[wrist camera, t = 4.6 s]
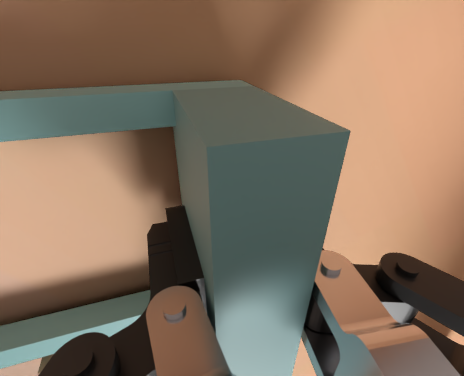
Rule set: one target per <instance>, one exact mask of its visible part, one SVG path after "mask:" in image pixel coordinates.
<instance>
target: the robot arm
mask: <svg viewBox="0 0 464 376" xmlns="http://www.w3.org/2000/svg"><path fill="white" fill-rule="evenodd" d="M165 209H166V215H167V222H163V223H157V224H153V225H152V227H151V229H150V230H149V232H148V234H147V240H148V256H149V257H148V258H149V276H150V301H149V303H148V306H147V308H146V309H145V311H144V312H143V314H142V315H141V316H140V317H139V318H138V319H137V320H136V321H134V322H133V323H132V324H130V325H129V326H127V327H126V328H124V329H122V330H120V331H119V332H117V333H115V334H114V335H112V336H110V337H108V336H107V335H105V334H103V333H99V332H89V333H85V334H82V335H79V336H77V337H75V338H73V339H71V340H70V341H68V342H67V343H65V344H64V345H63V346H62V347H60V348H59V349H58V350H57V351H56V352H55V353H54V355H53V356H52V357H51V359H50V360H49V361H48V363H47V364H46V366H45V367H44V368H43V370H42V371H41V373H40V374H39V375H38V376H236V375H234V374H232V372H231V371H230V369H229V367H228V364H227V362H226V359H225V357H224V354H223V352H222V350H221V347H220V345H219V342H218V340H217V337H216V335H215V332H214V330H213V327H212V325H211V322H210V320H209V318H208V315H207V306H206V293H205V280H204V275H203V271H202V267H201V264H200V260H199V257H198V253H197V249H196V246H195V242H194V238H193V235H192V231H191V228H190V224H189V220H188V217H187V213H186V209H185V206H184V205H182V206H176V207H170V208H165ZM418 311H420V312H422V313H424V314H426V315H427V316H429V317H431V318H433V319H434V320H436V321H438V322H439V323H441V324H443V325H445V326H446V327H448V328H450V329H451V330H453V331H455V332H457V333H458V334H460V335H462V336H464V281H462V280H460V279H458V278H456V277H454V276H451V275H449V274H447V273H445V272H443V271H441V270H439V269H437V268H435V267H432V266H430V265H428V264H426V263H424V262H422V261H420V260H418V259H416V258H414V257H411V256H409V255H406V254H402V253H388V254H385V255H384V256H383V257H382V258H381V260H380V262H379V265H359V264H352V263H351V262H350V261H349V260H348V259H347V258H345V257H344V256H342V255H340V254H338V253H336V252H333V251H328V250H324V249H323V248H322V252H321V256H320V260H319V264H318V268H317V273H316V277H315V281H314V285H313V289H312V293H311V298H310V302H309V306H308V310H307V314H306V318H305V323H304V327H303V331H302V335H301V338H302V341H303V343H304V345H305V348H306V350H307V353H308V355H309V358H310V360H311V363H312V365H313V368H314V370H315V373H316V375H317V376H464V345H460V344H458V343H456V342H454V341H452V340H451V339H449V338H447V337H446V336H444V335H442V334H441V333H439V332H437V331H436V330H434V329H432V328H431V327H429V326H427V325H426V324H424V323H422V322H421V321H419V320H417V319H416V318H414V317H415V316H416V314H417V312H418Z"/></svg>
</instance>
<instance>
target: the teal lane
mask: <svg viewBox="0 0 464 376" xmlns="http://www.w3.org/2000/svg"><path fill="white" fill-rule="evenodd" d="M161 127H173V132H174V140H175V149H176V158H177V166H178V175H179V184H180V193H181V201H182V205H184V206H185V209H186V213H187V217H188V220H189V224H190V228H191V231H192V235H193V238H194V242H195V246H196V249H197V253H198V257H199V260H200V264H201V267H202V271H203V275H204V280H205V293H206V306H207V315H208V318H209V320H210V322H211V325H212V327H213V330H214V332H215V335H216V337H217V340H218V342H219V345H220V347H221V350H222V352H223V354H224V357H225V359H226V362H227V364H228V367H229V369H230V371H231V372H232V374H234V375H236V376H292V373H293V368H294V364H295V360H296V356H297V352H298V348H299V343H300V339H301V335H302V331H303V327H304V323H305V318H306V314H307V310H308V306H309V302H310V298H311V293H312V289H313V285H314V281H315V277H316V273H317V268H318V264H319V260H320V256H321V252H322V248H323V243H324V239H325V235H326V231H327V227H328V223H329V218H330V214H331V210H332V206H333V202H334V198H335V194H336V189H337V185H338V181H339V177H340V173H341V169H342V164H343V160H344V156H345V152H346V148H347V144H348V139H349V135H350V130H348V129H345V128H343V127H341V126H339V125H337V124H335V123H332V122H330V121H328V120H326V119H324V118H322V117H320V116H317V115H315V114H313V113H311V112H309V111H307V110H305V109H302V108H300V107H298V106H296V105H294V104H292V103H289V102H287V101H285V100H283V99H281V98H279V97H277V96H274V95H272V94H270V93H268V92H266V91H264V90H262V89H259V88H257V87H255V86H253V85H251V84H249V83H247V82H244V81H242V80H227V81H206V82H185V83H164V84H143V85H122V86H101V87H79V88H58V89H37V90H16V91H0V142H5V141H16V140H27V139H38V138H49V137H61V136H72V135H83V134H94V133H105V132H117V131H128V130H139V129H150V128H161ZM149 301H150V290H147V291H143V292H139V293H135V294H130V295H126V296H122V297H118V298H114V299H110V300H106V301H101V302H97V303H93V304H89V305H85V306H81V307H77V308H73V309H68V310H64V311H60V312H56V313H52V314H48V315H44V316H39V317H35V318H31V319H27V320H23V321H19V322H15V323H11V324H6V325H2V326H0V369H1V368H5V367H8V366H12V365H16V364H19V363H23V362H26V361H30V360H34V359H37V358H41V357H45V356H48V355H52V354H54V353H55V352H56V351H57V350H58V349H59V348H60V347H62V346H63V345H64V344H65V343H67V342H68V341H70V340H71V339H73V338H75V337H77V336H79V335H82V334H85V333H89V332H99V333H103V334H105V335H107V336H108V337H110V336H112V335H114V334H115V333H117V332H119V331H120V330H122V329H124V328H126V327H127V326H129V325H130V324H132V323H133V322H134V321H136V320H137V319H138V318H139V317H140V316H141V315H142V314H143V312H144V311H145V309H146V308H147V306H148V303H149Z"/></svg>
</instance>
